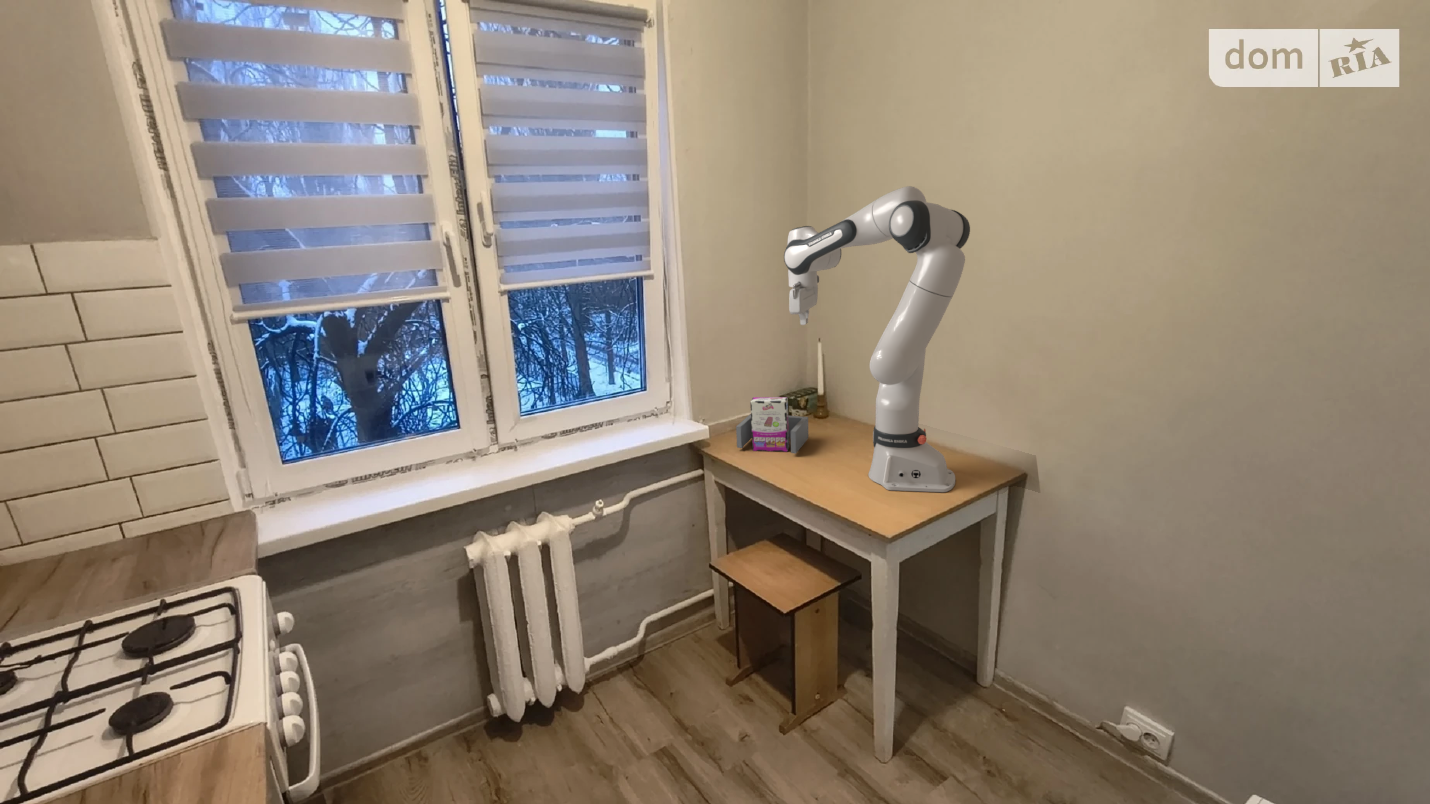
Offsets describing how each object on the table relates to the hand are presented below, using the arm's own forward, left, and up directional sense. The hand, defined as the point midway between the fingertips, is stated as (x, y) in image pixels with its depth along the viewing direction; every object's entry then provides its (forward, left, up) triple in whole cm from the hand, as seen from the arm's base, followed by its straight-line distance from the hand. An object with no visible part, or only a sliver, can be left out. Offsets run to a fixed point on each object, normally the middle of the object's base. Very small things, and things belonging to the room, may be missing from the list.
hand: (804, 324), depth 202 cm
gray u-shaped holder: (+6, +16, -36) cm, 40 cm away
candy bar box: (+6, +18, -36) cm, 41 cm away
